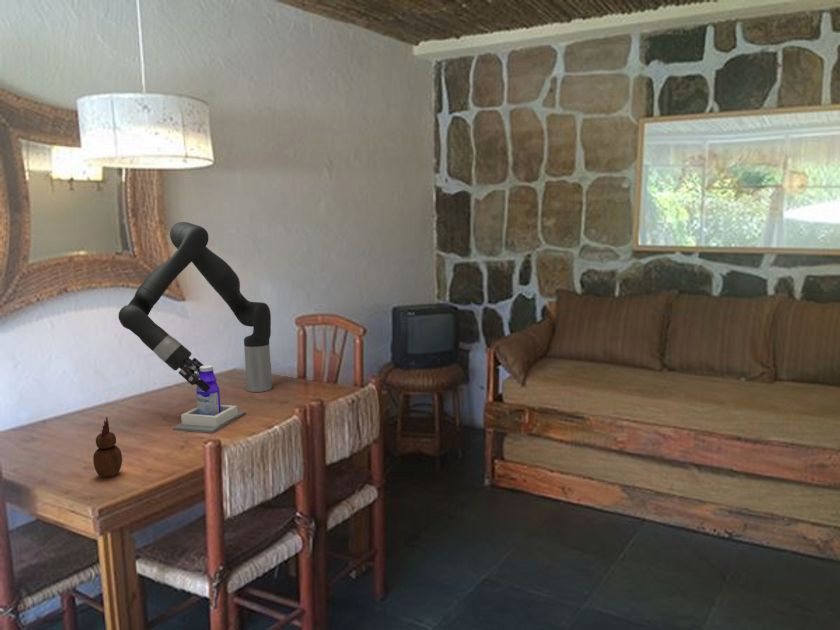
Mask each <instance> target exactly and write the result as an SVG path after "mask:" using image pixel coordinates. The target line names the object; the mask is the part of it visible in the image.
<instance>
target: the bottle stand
mask: <svg viewBox="0 0 840 630" xmlns="http://www.w3.org/2000/svg"><path fill="white" fill-rule="evenodd" d="M220 407H221V413H219V414H217V415H215V416H212V415H199V414H198V406H196V407H194V408H192V409H190V410H188V411H186V412H184V413H181V414H180V415H181V416H180V417H181V419H180V420H181V422H180V423H178V424H177V425H174V426H172V429H171V430H172V431H178V432H179V431H181V432H183V431H184V432H192V433H203V434H214V433H216V432H217V431H219V430H221V429H222V428H224V427H226V426H227V424H228V425H230V424H231V423H233V422H234V421H237V420H238V419H240V418H242V417H243V416H245V415H246V414H247V412H246V411H243V410H238V406H237V405H229V404H220ZM244 414H245V415H244ZM242 415H243V416H242ZM239 417H240V418H239ZM237 418H238V419H237ZM232 421H233V422H232ZM230 422H231V423H230ZM225 425H226V426H225ZM223 426H224V427H223ZM220 428H221V429H220Z"/></svg>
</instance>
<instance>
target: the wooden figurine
mask: <svg viewBox="0 0 840 630" xmlns="http://www.w3.org/2000/svg"><path fill="white" fill-rule="evenodd" d="M116 436H117V435H116V434H115V433H114V432H112V431H110V425H109V419H108V416H106V418H105V420H103V425H102V429H101V432H100V433H99V434H98V435H97V436H96V437H95V446H96V447H97V449H96V450H95V451H94V452H93V453H94V454H93V458H92V459H93V460H92V462H93V466H94V469H95V472H96V473H97V475H98V476H99V477H100V476H101V478H111V477H113V475H114V476H116V475H117V474H119V472H120V470H121V468H122V464H123V455H122V451H121V449H120V447H118V445H117V437H116ZM110 476H111V477H110Z"/></svg>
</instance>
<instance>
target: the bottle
mask: <svg viewBox="0 0 840 630" xmlns="http://www.w3.org/2000/svg"><path fill="white" fill-rule="evenodd" d="M203 365H204V364H203ZM200 378H201V380H203V381H204V382H206V383H207V384H208V385H209V386H210V389H209V390H208V391H207V392H204V391H203V390H202V389H201V388H200V387H199V386H197V385H196V402H197V407H198V414H199V415H212V416H215V415H217V414H219V413H221V407H220V405H221V397H220V396H221V394H220V387H219V384H218V383H217V381H216V380H217V377H216V376H215V373H214V366H213V365H211V364H210V365H209V364H205V365H204V366H201V367H200Z"/></svg>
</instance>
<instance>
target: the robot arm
mask: <svg viewBox="0 0 840 630" xmlns="http://www.w3.org/2000/svg"><path fill="white" fill-rule="evenodd" d="M169 238H170V241H171V243H172V245H173V246H174V247H175V248H176V249H177V250H176V251H175V252H174V253H173V254H172V255H171V257H169V258H168V259H167V260H166V261H164V262H163V263H162V264H160V265H159V266H157V267H156V268H154V269H153V270H151V272H149V274H147V276H146V277H145V278H144V280H143V281H142V283H140V285H139V286H138V288H137V289H136V291H135V295H134V296H133V297H132V299H131V300H130V302H129V303H128V304H127V305H124V306H123V307H121V309H120V310H119V312H118V320H119V322H120V324H121V325H122V327H123V328H125V329H127V330H129V331H130V332H132V333H133V334H134V335H135V336H137V337H138V338H139V339H140V340H141V342H142V343H143V344H144V345H145V346H146V347H147V348H149V349H150V350H151V351H152V352H153V353H154V354H155V355H156V356H157V357H158V358H159V359H160V360H161V361H163V362H164V363H165V365H167V366H168V367H169V368H171V369H172V370H173V371H177V370H179V369H180V370H179V371H178V374H179V375H180V376H181V377H182V378H184V380H185V381H187V382H188V383H189V384H190V385H191V386H196V387H197V386H199V387H200V388H201V389H202V390H203V391H204V392H207V391H208V390H209V389H210V386H209V385H208V384H207V383H206V382H204V381H203V380H201V378H200V367H201V366H204V364H203V363H202V362H201V361H199V360H198V359H197V358H196V357H194V358H192V359H191V358H190V357H191V356H192V352H191V351H190V350H189V349H188V348H187V347H185V346H184V345H183V344H182V343H181V342H180V341H178V340H177V339H176V338H175V337H173V336H172V335H170V334H169V333H168V332H167V331H165V330H164V329H163V328H162V327H161V326H159V325H158V323H155V321H153V319H152V318H151V317H150V316H149V315H150V313H151V311H152V309H153V308H154V307H155V305H156V304H157V303H158V301H160V298H161V297H162V296H163V295H164V294H165V292H166V291H167V290H168V288H169V287H170V285H171V284H172V283H173V282H174V280H175V279H176V278H177V277H178V276H179V275H180V274H181V273H182V272H183V271H184V270H185V269H186V268H187V267H188V266H189V265H190V264H191V263H192V264H193V265H194V266H195V268H196V269H197V271H198V272H199V273H200V274H201V275H202V276H203V278H204V279H205V280H206V281H207V282H208V283H209V285H210V286H211V287H212V288H213V290H214V291H215V292H216V293H217V294H218V295H219V296H220V298H222V299H223V301H224V302H225V303H226V304H227V306H228V307H229V309H230V310H231V311H232V312H233V313H232V314H234V316H235V317H236V319H237V321H239V322H240V324H242V325H243V326H245V327H251V328H252V327H253V328H252V331H253V332H252V333H251V334H250V335H248V336H245V337H244V338H243V347H244V348H243V349H244V363H245V365H244V366H245V383H246V391H247V392H252V393H260V392H261V393H263V392H268V391H270V390H271V389H272V388H273V378H272V377H273V375H272V363H271V351H270V350H271V349H270V339H271V336H272V335H271V334H272V332H271V331H272V327H271V326H272V325H271V324H272V321H271V320H272V316H271V310H270V307H269V305H268V304H267V303H265V302H261V301H257V302H256V301H249V300H248V299H247V298H245V296H244V295H243V294H242V293H241V281H240V279H239V276H238V274H237V273H236V272H235V271H234V269H233V268H232V267H231V266H230V265H229V263H228V262H226V261H225V260H224V259H223V258H221V257H220V256H218V255H217V254H216V253H214V252H213V251H212V250H210V249H209V248H208V247H207V246H208V243H209V232H208V231H207V230H206V229H205V227H204V226H200V225H197V224H195V223H191V222H186V221H179V222H176V223H175V224H173V226H171V229H170V233H169ZM216 382H218V381H217V379H216Z"/></svg>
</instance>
